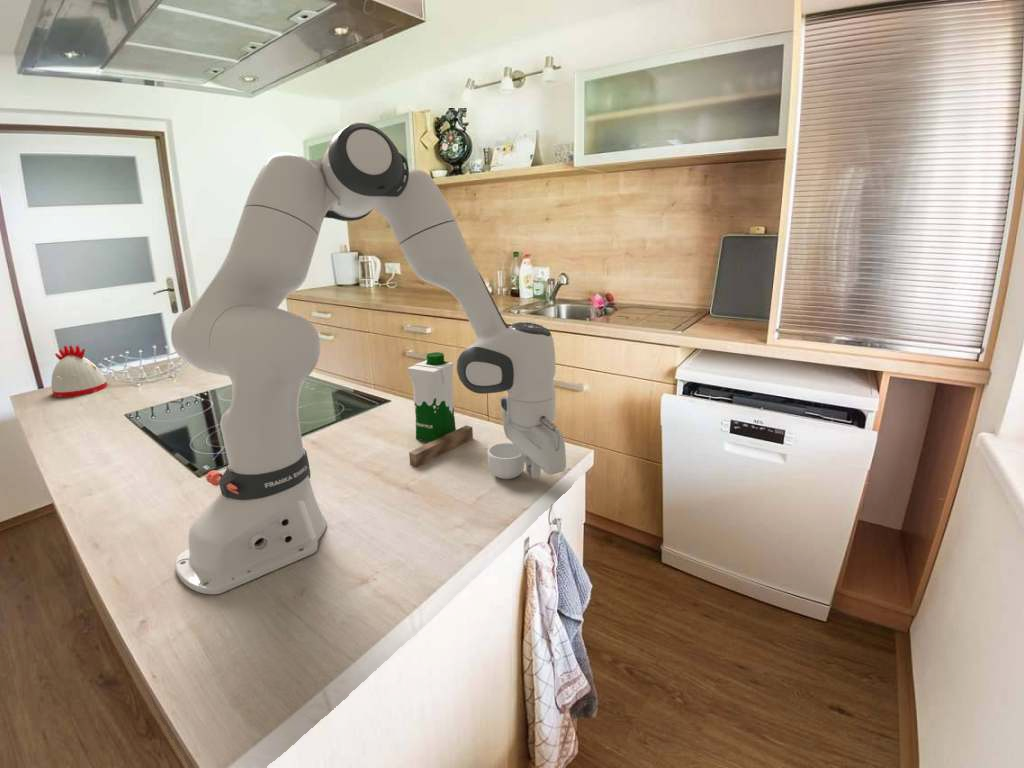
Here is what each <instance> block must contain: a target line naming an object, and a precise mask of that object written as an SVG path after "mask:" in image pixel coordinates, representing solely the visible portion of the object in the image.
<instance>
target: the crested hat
mask: <svg viewBox="0 0 1024 768" xmlns="http://www.w3.org/2000/svg"><path fill="white" fill-rule="evenodd" d="M58 351H59V353H60V354H61V355H60V354H59V353H55V354H54V355H55V357H56V359H58V360H59V361H58V362H56V363H57V364H55V366H54V368H53V371H52V375H51V385H50V386H51V391H52V394H53V396H54V397H56V398H70V397H79V396H85V395H88V394H93V393H96V392H100V391H102V390H104V389H105V388H107V387H108V382H107V379H106V377H105V375H104V374H103V373H102V371H101V370H100V368H99V367H98V366H97V365H96V364H95V363H94V362H92V361H91V360H89V359H88V358H86V357H84V355H85V351H86V349H85V348H82V350H81V348H80V346H79V345H76V347H75V349H74V347H73V345H71V344H70V345H69V348H68V346H67V345H64V346H63V349H61V348H60V349H58Z"/></svg>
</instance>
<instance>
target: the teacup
mask: <svg viewBox="0 0 1024 768" xmlns="http://www.w3.org/2000/svg"><path fill="white" fill-rule="evenodd" d="M485 449H486V450H485V454H486V456H487V461H488V466H489V470H490V472H491V473H492V474H493V475H494V476H495V477H497V478H499V479H503V480H512V479H514V478H516V477H518V476H520V475H521V474H522V472H523V471H524V469H525V467H526V463H525V460H524V457H523V452H522V451H521V450H520V449H519V448H518V447H517V446H516V445H515V444H514V443H512V442H511V441H509V442H508V441H505V442H498V443H495V444H492V445H490V446H489V447H487V448H485Z"/></svg>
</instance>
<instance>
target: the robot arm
mask: <svg viewBox="0 0 1024 768" xmlns="http://www.w3.org/2000/svg"><path fill="white" fill-rule="evenodd" d="M325 151H326V152H324V154H323V156H322V157H321V158H318V159H308V158H306V157H304V156H302V155H300V154H297V153H290V152H279V153H276V154H273V155H272V156H270V157H269V158H268V159H267V160H266V162H265V164H264V165H263V166H262V167H261V169H260V171H259V173H258V174H257V177H256V179H255V181H254V183H253V185H252V186H251V188H250V191H249V193H248V195H247V198H246V202H245V204H244V206H243V210H242V213H241V216H240V219H239V221H238V225H237V227H236V230H235V233H234V236H233V239H232V242H231V245H230V247H229V251H228V253H227V255H226V257H225V258H224V261H223V263H222V264H221V266H220V268H219V269H218V271H217V273H216V274H215V275H214V277H213V278H212V280H211V282H210V283H209V284H208V285H207V287H206V288H205V290H204V292H203V293H202V294H201V295H200V297H199V298H198V299H197V300H196V301H195V303H194V304H192V305H191V306H190V307H189V308H187V309H186V310H184V311H183V312H181V313H180V314H179V315H178V316H177V318H176V319H175V320H174V323H173V324H172V327H171V333H170V334H171V335H170V336H171V337H170V339H171V345H172V347H173V350H174V351H175V352H176V354H177V355H178V356H179V357H180V358H181V359H182V360H183V361H185V362H187V363H188V364H189V365H191V366H193V367H195V368H197V369H199V370H201V371H203V372H206V373H210V374H214V375H221V376H225V377H228V378H229V379H230V382H231V386H232V387H231V389H232V392H231V395H232V396H231V404H230V407H229V408H228V409H227V410H226V411H225V412H223V415H222V416H221V417H220V422H219V423H220V425H219V427H220V431H221V434H222V435H221V436H222V440H223V444H224V448H225V453H226V458H227V462H228V464H227V467H226V470H225V471H224V472H223V473H220V472H219V471H218V470H214V469H213V470H210V471H209V472H207V474H206V475H205V480H206V482H207V483H209V484H211V485H212V486H217V487H218V486H219V489H220V493H219V494H218V495H216V497H215V498H214V500H212V502H211V503H210V504H209V505H208V506H207V507H206V508H205V510H204V511H203V512H202V513H201V514H199V516H198V517H197V518H196V519H195V520H194V521H193V522H192V524H191V526H190V528H189V533H188V548H187V549H186V550H184V551H182V552H181V553H180V554H178V555H177V557H176V560H175V565H174V566H175V571H176V575H177V577H178V578H179V580H180V581H181V582H182V583H183V584H184V585H186V586H187V588H189V589H191V590H193V591H195V592H197V593H200V594H206V595H220V594H222V593H225V592H228V591H229V590H232V589H234V588H236V587H237V588H238V587H239V586H241V585H244V584H246V583H248V582H250V581H253V580H255V579H257V578H259V577H262V576H264V575H266V574H269V573H271V572H273V571H275V570H279V569H280V568H284V567H285V566H288V565H290V564H292V563H294V562H297V561H299V560H301V559H304V558H306V557H308V556H311V555H313V554H314V553H316V552H317V550H318V549H319V548H318V547H319V540H320V538H321V537H322V535H323V534H324V532H325V531H326V527H327V520H326V518H325V516H324V515H323V512H322V511H321V510H320V507H319V505H318V503H317V502H318V501H317V500H316V496H315V493H314V491H313V488H312V483H311V480H310V479H311V469H310V463H309V462H310V461H309V457H308V453H307V449H305V448H304V445H303V440H302V439H303V438H302V433H301V426H300V425H301V424H300V417H299V401H300V393H301V389H302V386H303V383H304V382H305V380H306V378H308V376H310V375H311V374H312V373H313V371H314V370H315V369H316V366H317V365H318V363H319V360H320V357H321V352H322V351H321V350H322V343H321V338H320V336H319V332H318V331H317V329H316V327H315V326H314V324H313V323H311V322H310V321H309V320H308V319H306V318H305V317H302V316H300V315H297V314H295V313H293V312H290V311H287V310H284V309H281V308H279V307H280V305H281V304H282V303H283V302H284V300H285V299H286V298H287V297H288V296H289V295H291V294H292V293H293V292H296V291H297V290H298V289H299V288H300V287H301V286H302V285H303V284H304V283H305V281H306V280H307V276H308V273H309V269H310V266H311V263H312V259H313V256H314V254H315V253H314V252H315V248H316V245H317V242H318V240H319V235H320V232H321V228H322V225H323V222H324V219H325V218H326V219H334V220H337V221H341V222H356V221H359V220H361V219H364V218H365V217H367V216H368V215H369V214H371V212H373V210H375V212H377V213H378V214H379V215H381V216H382V217H383V218H384V219H385V221H386V222H387V223H388V225H389V226H390V228H391V229H392V230H393V233H394V237H395V239H396V241H397V243H398V246H399V248H400V250H401V252H402V254H403V256H404V259H405V260H406V262H407V264H408V265H409V267H410V269H411V270H412V271H413V273H414V274H415V276H416V277H417V278H419V279H420V280H421V281H424V282H425V283H426V284H430V285H433V286H436V287H439V288H441V289H443V290H445V291H447V292H448V293H450V294H451V295H452V296H453V297H454V298H455V299H456V301H458V303H459V305H460V306H461V308H462V311H463V312H464V314H465V316H466V318H467V320H468V321H469V324H470V326H471V328H472V329H473V331H474V333H475V337H476V339H475V340H476V341H475V342H472V344H470V345H469V346H468V347H466V348H465V349H464V350H463V351H462V352H461V353H460V355H459V356H458V358H457V361H456V373H457V376H458V379H459V380H460V382H461V384H462V385H463V386H464V387H465V388H466V389H468V390H469V391H471V392H472V393H474V394H480V395H481V394H482V395H483V394H484V395H486V394H496V393H503V392H507V393H508V395H505V396H501V397H500V399H499V404H500V407H501V408H502V410H501V411H502V425H503V431H504V434H505V437H506V439H508V440H509V442H510V443H514V444H515V445H516V446H517V447H518V448H519V449H520V450H521V451H522V452H523V457H524V460H525V469H526V470H525V471H526V473H528V474H529V475H530V477H532V479H535V478H539V477H540V476H541V470H542V471H544V472H545V474H547V476H548V475H550V476H552V475H555V474H559V473H562V472H564V471H565V469H566V468H567V458H566V457H567V455H566V443H565V438H564V435H563V433H562V432H561V431H560V430H559V429H558V426H557V425H556V423H554V420H556V417H557V413H556V411H557V410H556V406H557V405H556V404H557V403H556V397H557V396H556V394H557V393H556V392H557V391H556V389H555V385H554V380H555V379H554V378H555V375H556V371H557V370H556V352H555V343H554V338H553V335H552V333H551V331H549V330H550V329H548V328H546V327H544V326H543V325H540V324H537V323H534V322H522V321H520V322H515V323H512V324H511V325H510V326H509V324H507V323H506V321H505V319H504V318H503V316H502V314H501V312H500V309H498V308H499V307H498V306H497V304H496V302H495V300H494V299H493V296H492V295H491V292H490V290H489V289H488V286H487V285H486V282H485V281H484V279H483V277H482V275H481V273H480V271H479V270H478V267H477V265H476V263H475V262H474V259H473V257H472V256H471V253H470V251H469V248H468V247H467V244H466V242H465V239H464V237H463V235H462V232H461V229H460V228H459V225H458V223H457V220H456V218H455V216H454V213H453V212H452V210H451V207H450V206H449V203H448V202H447V200H446V198H445V196H444V195H443V193H442V192H441V190H440V188H439V186H438V184H436V182H435V181H434V179H433V178H432V177H431V175H430V174H429V173H427V172H425V171H424V170H420V169H415V168H414V169H413V168H411V169H409V164H408V160H407V159H406V158H405V156H404V155H403V154H401V152H399V150H398V148H397V146H396V145H395V143H394V142H393V141H392V139H391V138H389V136H388V135H387V134H386V133H384V131H382V130H381V129H379V128H378V127H376V126H374V125H371V124H370V123H364V122H355V123H351V124H349V125H347V126H345V127H343V128H341V130H339V131H338V132H337V133H336V134H335V135H334V136H333V138H332V139H331V141H330V143H329V146H328V148H327V149H326V150H325ZM404 163H405V164H404Z"/></svg>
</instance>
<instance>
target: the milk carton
mask: <svg viewBox="0 0 1024 768" xmlns="http://www.w3.org/2000/svg"><path fill="white" fill-rule="evenodd" d="M407 371H408V373H409V377H410V379H411V382H412V383H411V384H412V390H413V402H414V403H413V404H414V413H415V439H416V440H420V441H424V442H428V443H430V442H432V441H434V440H436V439H438V438H440V437H442V436H445V435H447V434H449V433H451V432H453V431H455V430H457V429H456V419H455V409H454V408H455V407H454V392H453V373H454V362H450V361H445V354H444V353H443V352H430V353H427V354H426V360H423V361H420V362H418V363H414V364H413V365H412V366H409V367H407Z"/></svg>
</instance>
